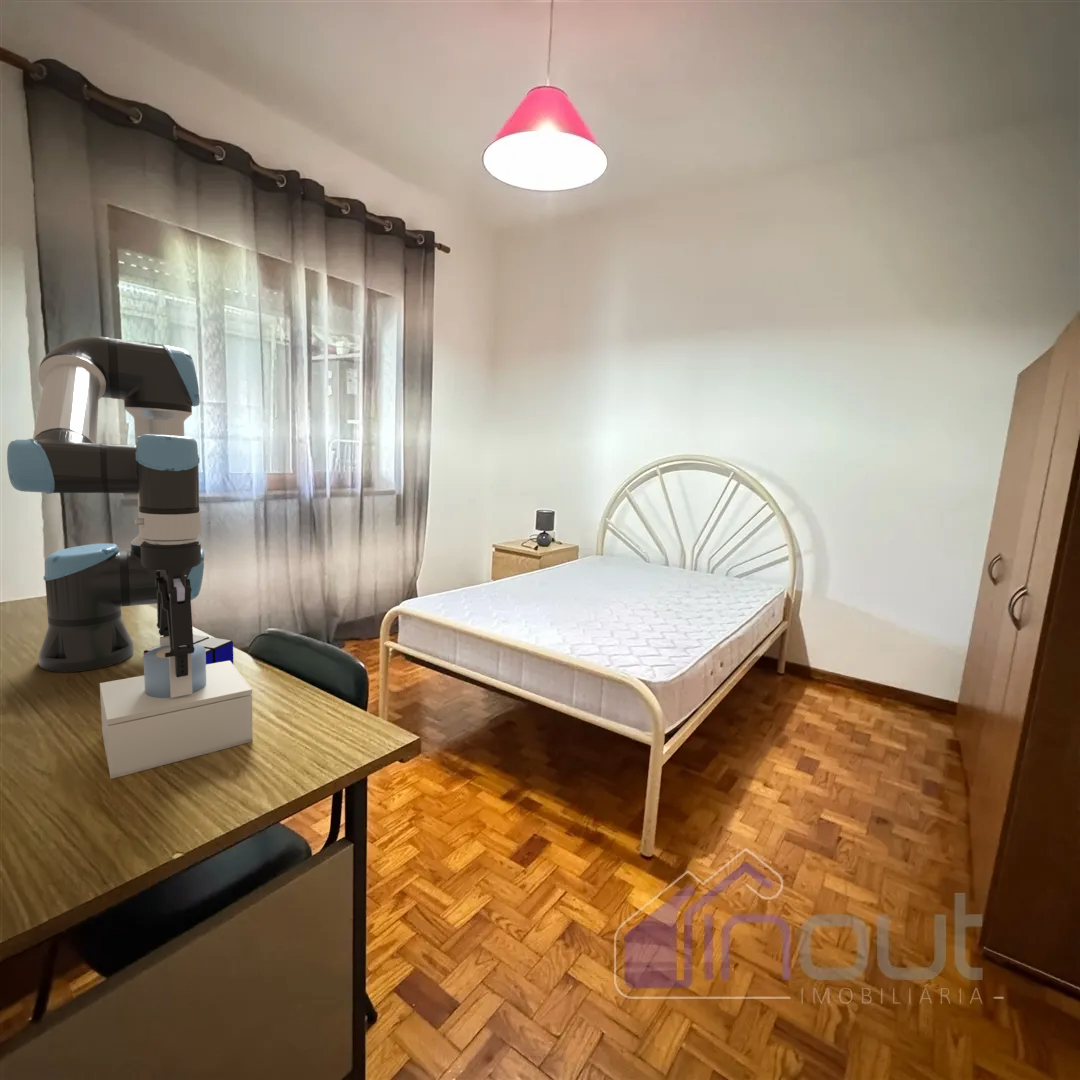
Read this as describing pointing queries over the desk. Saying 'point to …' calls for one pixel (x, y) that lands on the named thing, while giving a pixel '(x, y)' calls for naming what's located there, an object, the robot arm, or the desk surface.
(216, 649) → the puzzle cube
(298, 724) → the desk surface
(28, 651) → the desk surface
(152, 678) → the blue domed cylinder
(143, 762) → the carton
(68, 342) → the robot arm
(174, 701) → the hinged white flap
